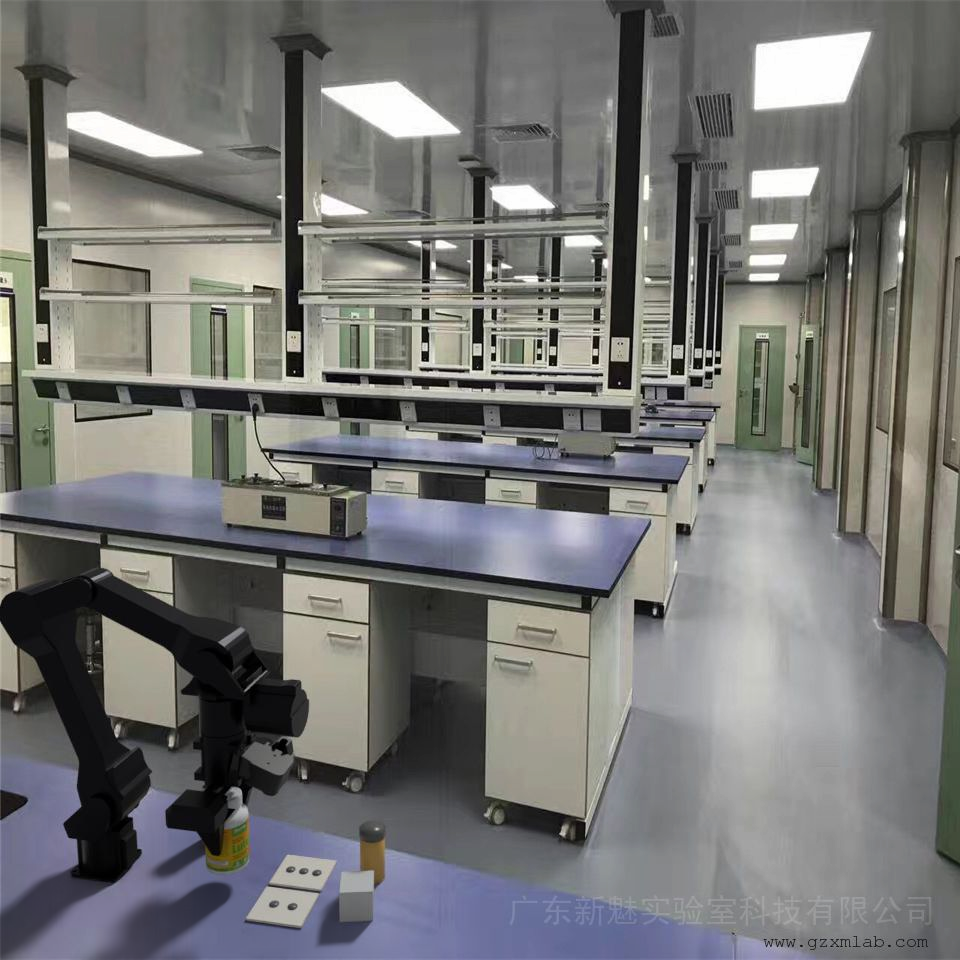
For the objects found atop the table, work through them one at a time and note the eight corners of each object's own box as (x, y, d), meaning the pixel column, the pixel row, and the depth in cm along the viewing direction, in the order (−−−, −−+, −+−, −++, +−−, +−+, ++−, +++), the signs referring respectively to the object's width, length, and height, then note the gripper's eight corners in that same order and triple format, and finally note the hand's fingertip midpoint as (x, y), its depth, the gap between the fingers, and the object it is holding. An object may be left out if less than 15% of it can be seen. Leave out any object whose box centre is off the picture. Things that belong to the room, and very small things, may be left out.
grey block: (339, 922, 101) (339, 892, 100) (341, 900, 104) (341, 871, 104) (373, 921, 101) (372, 891, 100) (374, 899, 105) (374, 870, 104)
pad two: (246, 920, 100) (246, 917, 100) (266, 888, 106) (266, 885, 106) (301, 928, 99) (301, 925, 99) (319, 895, 105) (319, 892, 105)
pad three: (269, 884, 107) (269, 881, 107) (287, 856, 113) (287, 853, 113) (321, 891, 106) (321, 888, 106) (337, 862, 112) (337, 860, 112)
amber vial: (355, 883, 108) (355, 833, 106) (363, 867, 111) (363, 819, 110) (381, 886, 107) (381, 837, 106) (388, 870, 110) (388, 822, 109)
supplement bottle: (237, 879, 104) (235, 808, 102) (197, 873, 105) (195, 802, 103) (257, 854, 109) (255, 785, 107) (219, 848, 110) (216, 780, 109)
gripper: (252, 771, 94) (255, 897, 96) (312, 701, 112) (313, 808, 114) (160, 761, 95) (165, 884, 98) (234, 694, 113) (237, 799, 116)
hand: (227, 841), depth 107 cm, fingers closed on supplement bottle, 5 cm apart
